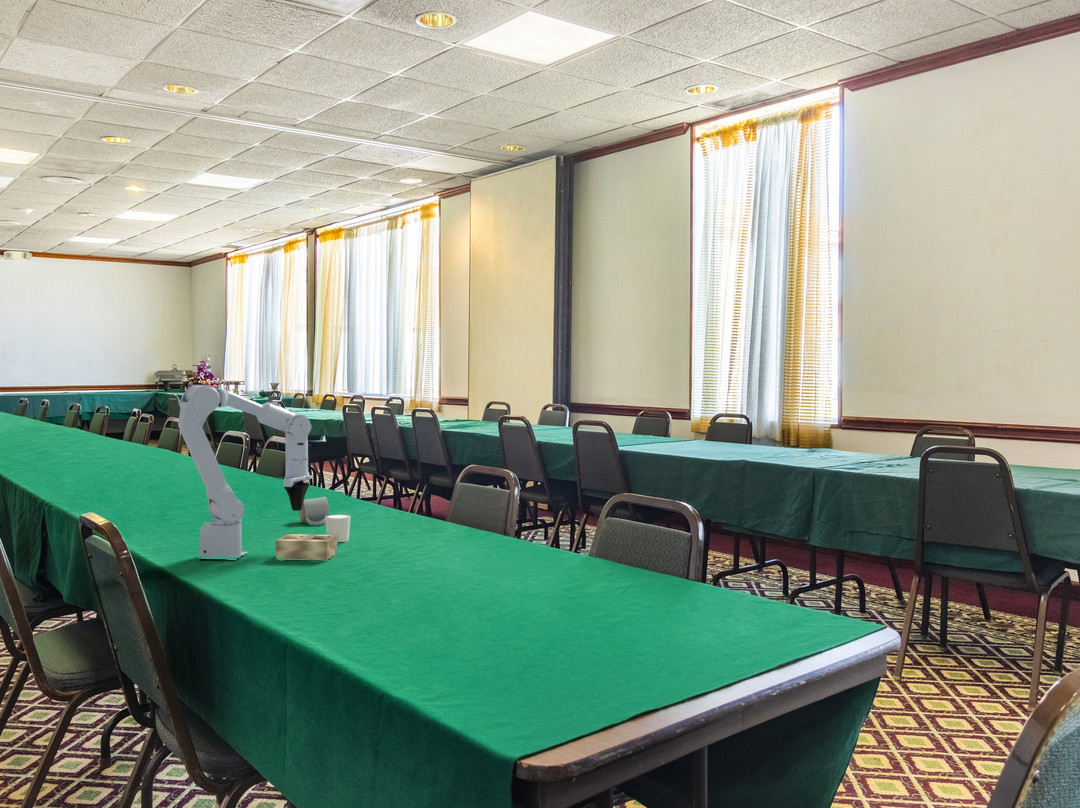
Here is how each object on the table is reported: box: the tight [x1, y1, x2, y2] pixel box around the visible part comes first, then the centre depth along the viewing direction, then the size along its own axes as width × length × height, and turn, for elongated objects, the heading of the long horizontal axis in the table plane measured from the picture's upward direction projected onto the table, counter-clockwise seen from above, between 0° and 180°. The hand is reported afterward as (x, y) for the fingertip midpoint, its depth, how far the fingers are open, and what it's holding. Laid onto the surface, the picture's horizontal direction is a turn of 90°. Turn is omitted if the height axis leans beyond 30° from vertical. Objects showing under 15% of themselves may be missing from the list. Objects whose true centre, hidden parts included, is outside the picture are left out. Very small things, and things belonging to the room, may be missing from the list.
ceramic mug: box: [298, 496, 330, 526], centre depth 262 cm, size 11×8×8 cm
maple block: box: [275, 533, 338, 561], centre depth 215 cm, size 13×8×5 cm, turn 87°
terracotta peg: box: [286, 535, 301, 539], centre depth 215 cm, size 4×4×5 cm
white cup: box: [325, 514, 351, 543], centre depth 235 cm, size 7×7×7 cm
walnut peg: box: [313, 536, 328, 540], centre depth 215 cm, size 4×4×5 cm
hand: (297, 510), depth 225 cm, fingers closed
